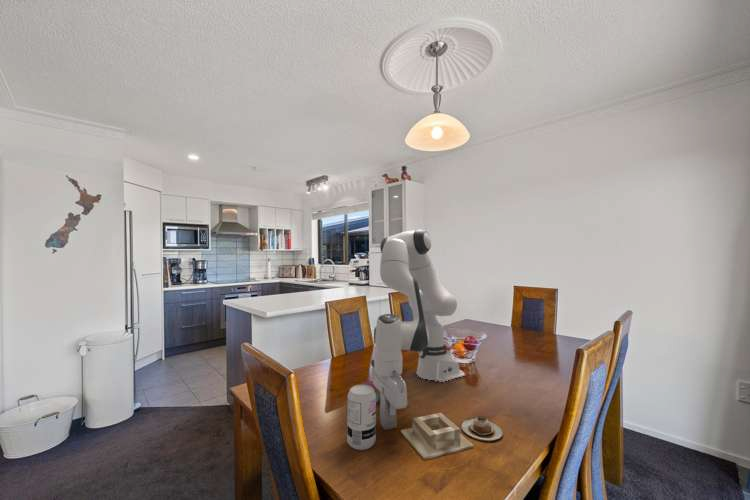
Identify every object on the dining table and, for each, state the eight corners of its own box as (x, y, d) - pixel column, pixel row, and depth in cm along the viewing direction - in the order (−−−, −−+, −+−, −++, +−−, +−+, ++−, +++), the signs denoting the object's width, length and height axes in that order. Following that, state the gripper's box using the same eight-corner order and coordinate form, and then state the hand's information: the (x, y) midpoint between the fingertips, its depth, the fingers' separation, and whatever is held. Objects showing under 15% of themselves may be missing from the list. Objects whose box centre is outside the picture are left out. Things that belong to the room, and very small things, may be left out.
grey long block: (391, 421, 99) (391, 383, 100) (396, 427, 95) (396, 388, 96) (380, 423, 98) (380, 385, 98) (384, 429, 94) (385, 390, 95)
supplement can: (347, 435, 91) (347, 384, 92) (374, 434, 92) (374, 383, 92) (346, 451, 83) (347, 395, 83) (376, 450, 83) (377, 395, 84)
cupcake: (385, 397, 116) (386, 366, 117) (379, 407, 108) (379, 373, 109) (365, 394, 119) (365, 363, 120) (356, 403, 111) (357, 370, 112)
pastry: (511, 440, 90) (511, 424, 90) (476, 447, 86) (476, 430, 86) (485, 420, 101) (485, 406, 101) (454, 425, 98) (454, 410, 98)
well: (445, 422, 98) (445, 408, 99) (473, 447, 85) (473, 430, 85) (400, 432, 93) (400, 416, 93) (423, 460, 80) (423, 442, 80)
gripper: (412, 376, 89) (412, 424, 88) (385, 356, 108) (385, 395, 107) (393, 379, 87) (392, 428, 86) (368, 358, 106) (368, 398, 105)
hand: (388, 410), depth 97 cm, fingers closed on grey long block, 4 cm apart
